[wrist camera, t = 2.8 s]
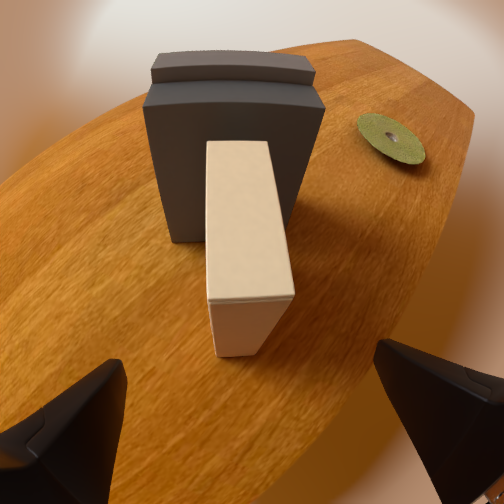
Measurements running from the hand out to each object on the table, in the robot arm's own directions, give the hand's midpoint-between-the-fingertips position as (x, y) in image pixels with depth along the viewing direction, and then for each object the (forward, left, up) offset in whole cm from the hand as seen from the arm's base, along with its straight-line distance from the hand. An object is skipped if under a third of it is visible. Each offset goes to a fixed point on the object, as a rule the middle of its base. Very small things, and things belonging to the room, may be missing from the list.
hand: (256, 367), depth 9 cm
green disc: (+9, -36, -13) cm, 39 cm away
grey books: (+12, -9, -12) cm, 20 cm away
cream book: (+5, -4, -12) cm, 14 cm away
